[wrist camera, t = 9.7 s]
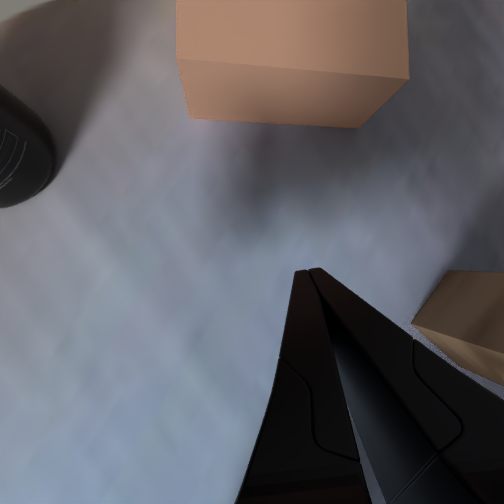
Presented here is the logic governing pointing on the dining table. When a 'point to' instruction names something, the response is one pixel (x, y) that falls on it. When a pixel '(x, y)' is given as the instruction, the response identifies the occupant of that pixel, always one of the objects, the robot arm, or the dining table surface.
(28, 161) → the supplement bottle
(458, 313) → the walnut block
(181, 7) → the terracotta block
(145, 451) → the dining table surface
